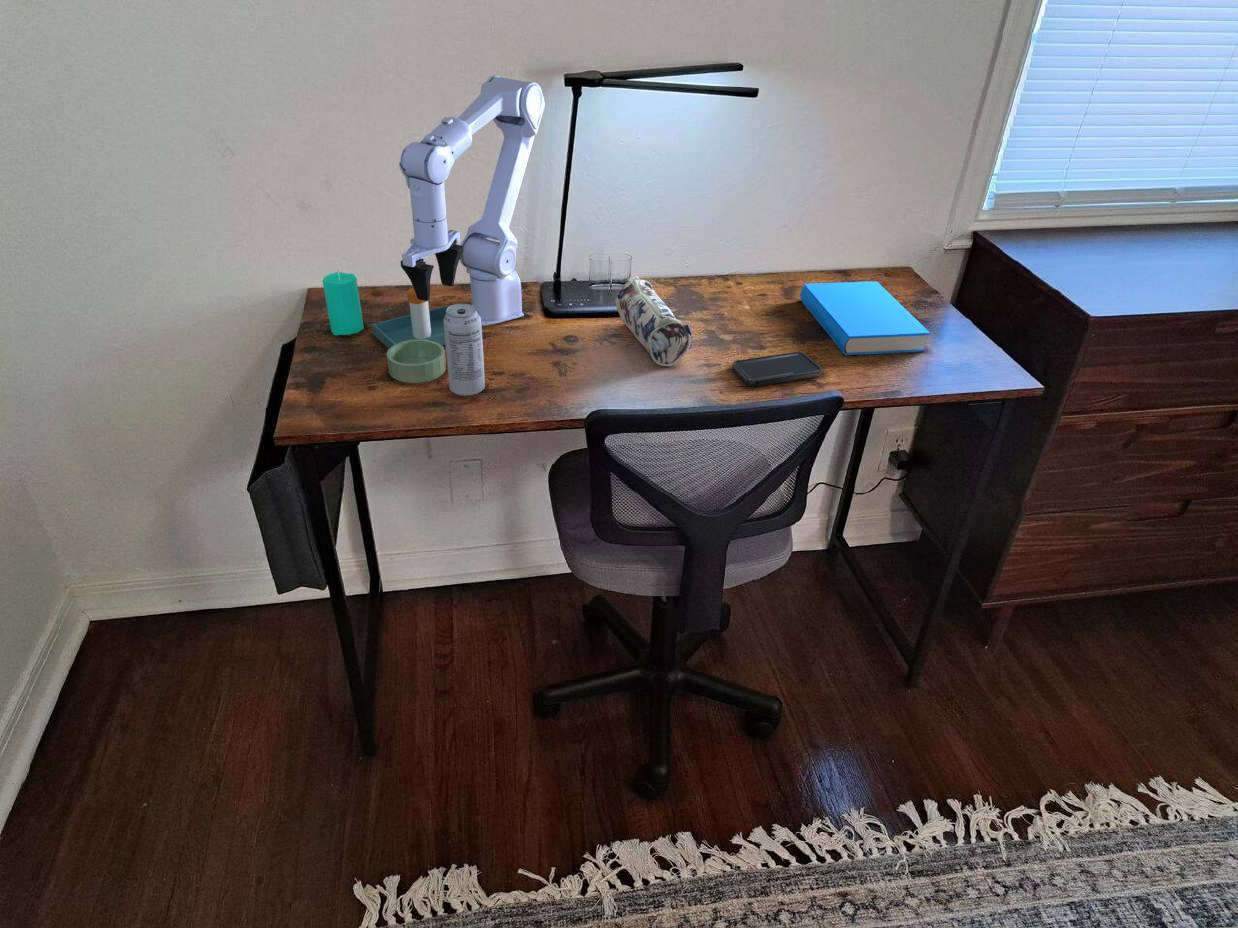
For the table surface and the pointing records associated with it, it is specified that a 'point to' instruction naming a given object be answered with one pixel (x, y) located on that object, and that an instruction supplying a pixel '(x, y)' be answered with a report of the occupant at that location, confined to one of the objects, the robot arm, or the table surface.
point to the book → (864, 318)
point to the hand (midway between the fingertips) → (435, 292)
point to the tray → (410, 328)
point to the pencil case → (652, 322)
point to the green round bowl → (416, 361)
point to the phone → (776, 368)
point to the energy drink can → (464, 349)
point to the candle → (343, 303)
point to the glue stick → (419, 316)
